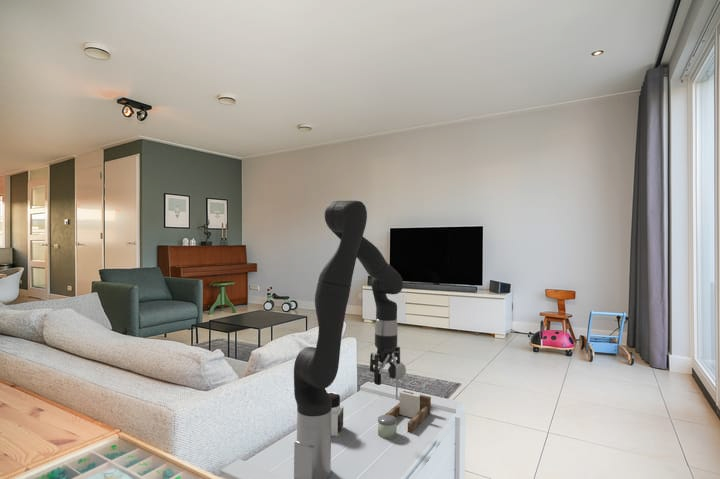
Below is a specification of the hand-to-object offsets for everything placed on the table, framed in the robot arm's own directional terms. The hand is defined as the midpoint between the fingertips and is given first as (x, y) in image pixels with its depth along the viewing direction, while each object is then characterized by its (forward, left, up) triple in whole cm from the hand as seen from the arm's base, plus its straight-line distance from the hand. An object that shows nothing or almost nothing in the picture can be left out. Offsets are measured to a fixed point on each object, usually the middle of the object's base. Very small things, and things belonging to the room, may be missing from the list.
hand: (385, 381), depth 130 cm
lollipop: (+26, +8, -16) cm, 32 cm away
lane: (+11, -3, -16) cm, 20 cm away
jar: (-2, -2, -16) cm, 17 cm away
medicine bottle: (-10, +15, -16) cm, 24 cm away
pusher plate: (+16, -3, -16) cm, 23 cm away
